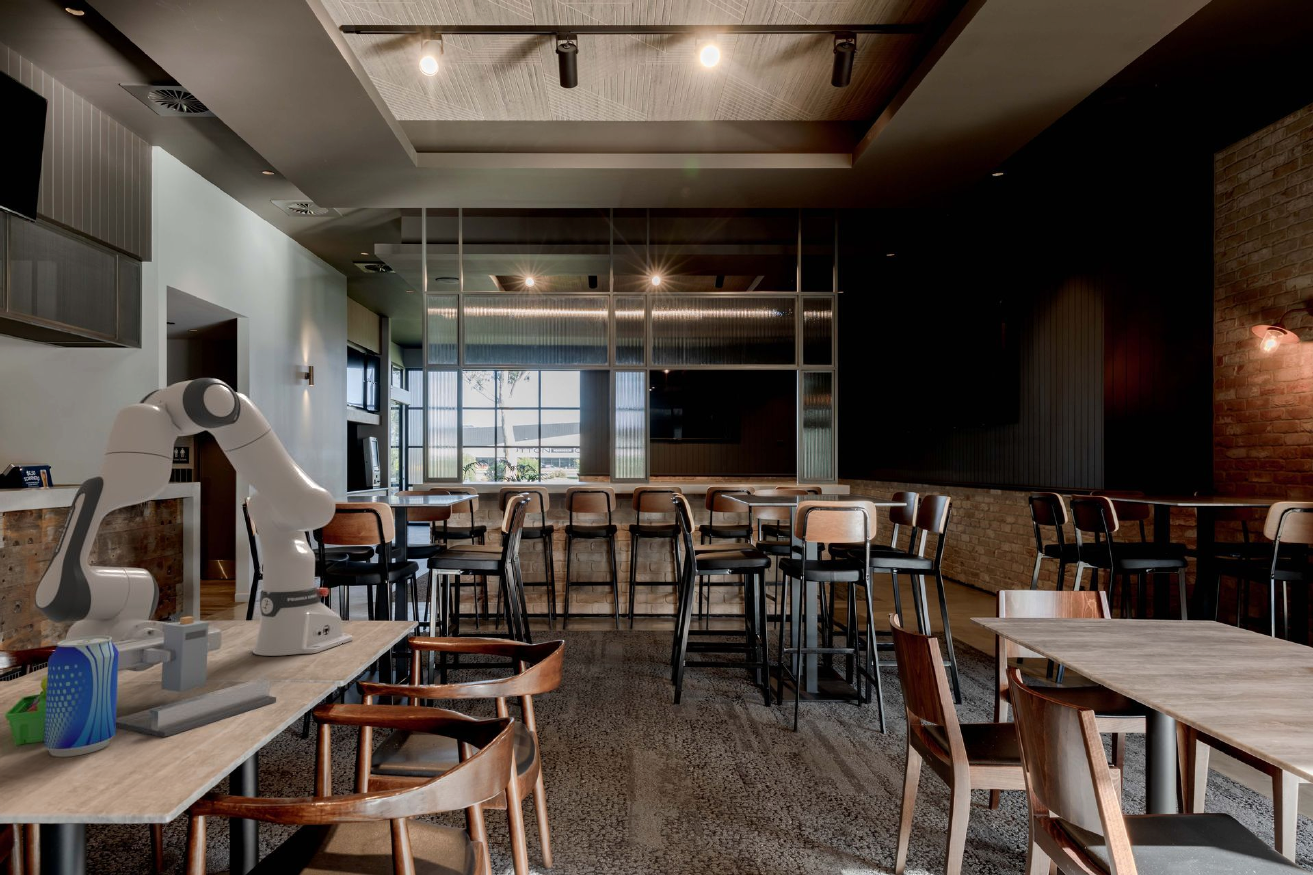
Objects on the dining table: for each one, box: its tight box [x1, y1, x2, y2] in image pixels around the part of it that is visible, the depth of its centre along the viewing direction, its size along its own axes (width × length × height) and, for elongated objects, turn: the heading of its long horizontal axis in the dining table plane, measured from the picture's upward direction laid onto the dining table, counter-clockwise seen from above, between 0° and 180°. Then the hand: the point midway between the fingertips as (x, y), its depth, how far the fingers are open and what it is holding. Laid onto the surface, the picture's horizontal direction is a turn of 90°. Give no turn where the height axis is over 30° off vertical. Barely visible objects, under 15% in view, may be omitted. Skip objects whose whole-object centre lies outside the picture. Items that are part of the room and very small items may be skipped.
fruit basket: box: [4, 675, 47, 746], centre depth 117 cm, size 11×9×11 cm
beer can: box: [43, 636, 119, 758], centre depth 111 cm, size 8×8×16 cm
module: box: [161, 615, 210, 693], centre depth 128 cm, size 4×5×12 cm
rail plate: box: [116, 678, 277, 738], centre depth 127 cm, size 20×14×4 cm
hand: (188, 652), depth 128 cm, fingers closed on module, 4 cm apart
